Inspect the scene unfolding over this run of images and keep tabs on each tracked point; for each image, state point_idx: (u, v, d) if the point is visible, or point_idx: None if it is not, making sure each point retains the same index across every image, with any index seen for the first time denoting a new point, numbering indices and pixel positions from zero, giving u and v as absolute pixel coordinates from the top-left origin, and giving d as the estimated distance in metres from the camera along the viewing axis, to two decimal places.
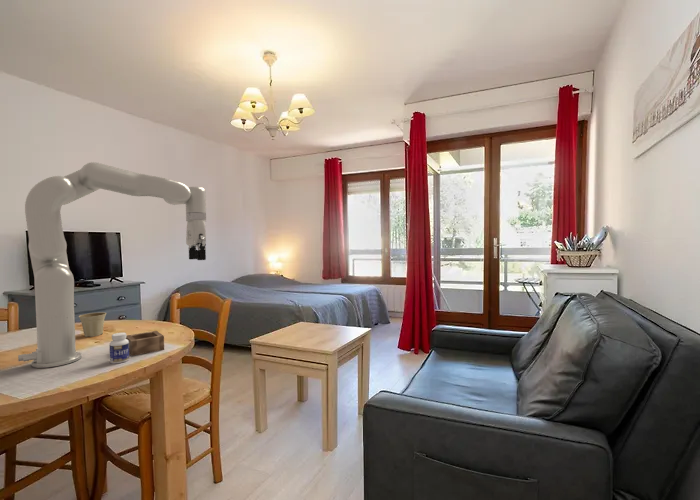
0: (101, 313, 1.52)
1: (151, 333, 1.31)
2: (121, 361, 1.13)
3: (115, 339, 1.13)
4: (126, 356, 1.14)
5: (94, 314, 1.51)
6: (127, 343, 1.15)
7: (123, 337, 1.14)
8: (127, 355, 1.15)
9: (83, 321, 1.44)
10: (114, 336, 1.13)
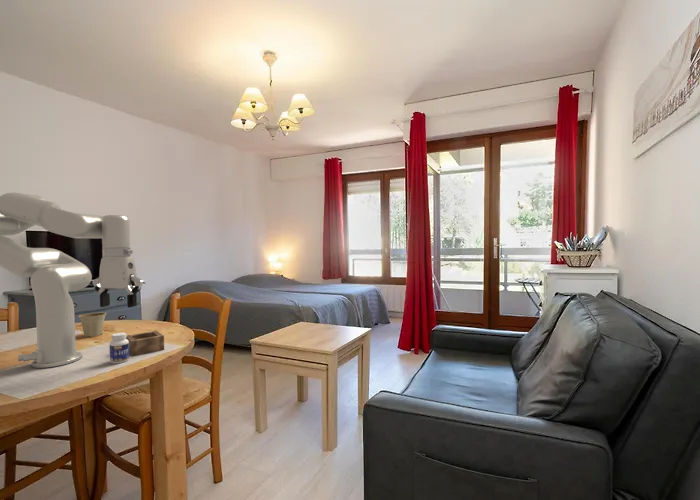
0: (101, 313, 1.52)
1: (151, 333, 1.31)
2: (121, 361, 1.13)
3: (115, 339, 1.13)
4: (126, 356, 1.14)
5: (94, 314, 1.51)
6: (127, 343, 1.15)
7: (123, 337, 1.14)
8: (127, 355, 1.15)
9: (83, 321, 1.44)
10: (114, 336, 1.13)
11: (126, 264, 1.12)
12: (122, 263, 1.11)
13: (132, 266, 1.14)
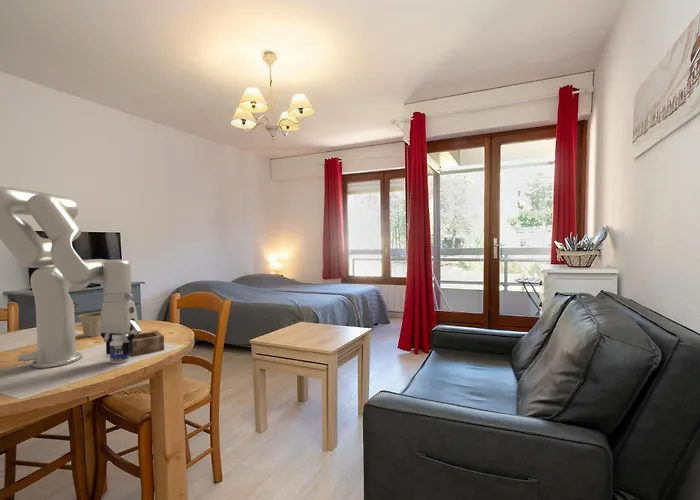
0: None
1: (151, 333, 1.31)
2: (121, 361, 1.13)
3: (115, 339, 1.13)
4: (126, 356, 1.14)
5: (94, 314, 1.51)
6: None
7: None
8: (127, 355, 1.15)
9: (83, 321, 1.44)
10: (114, 336, 1.13)
11: (127, 309, 1.12)
12: (123, 308, 1.12)
13: (133, 310, 1.15)
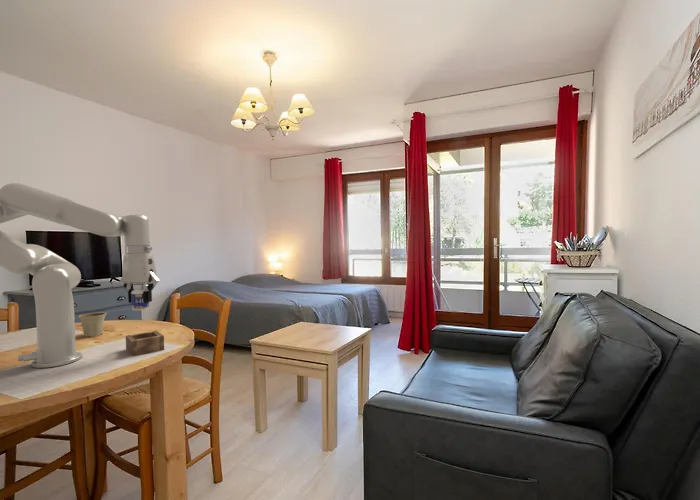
0: (101, 313, 1.52)
1: (151, 333, 1.31)
2: (142, 308, 1.22)
3: (136, 288, 1.22)
4: (146, 304, 1.23)
5: (94, 314, 1.51)
6: None
7: (143, 287, 1.23)
8: (147, 304, 1.24)
9: (83, 321, 1.44)
10: (135, 285, 1.22)
11: (146, 260, 1.21)
12: (142, 259, 1.21)
13: (152, 262, 1.24)
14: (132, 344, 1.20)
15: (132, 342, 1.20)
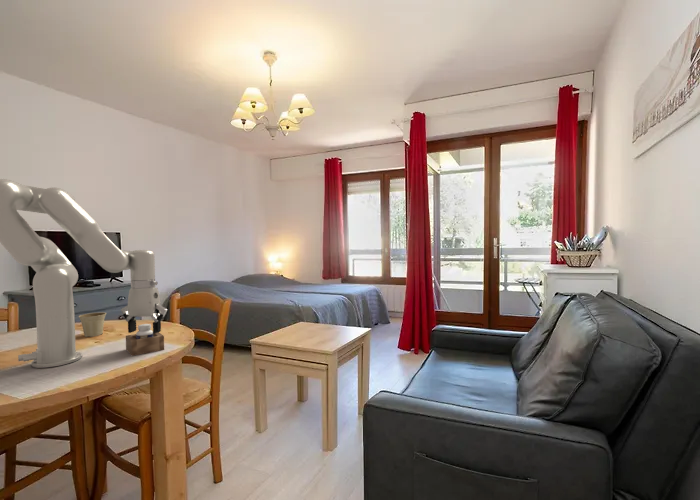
0: (101, 313, 1.52)
1: None
2: None
3: (141, 329, 1.25)
4: None
5: (94, 314, 1.51)
6: (152, 333, 1.27)
7: (148, 328, 1.26)
8: None
9: (83, 321, 1.44)
10: (140, 327, 1.25)
11: (152, 294, 1.24)
12: (148, 294, 1.24)
13: (157, 296, 1.27)
14: (132, 344, 1.20)
15: (132, 342, 1.20)
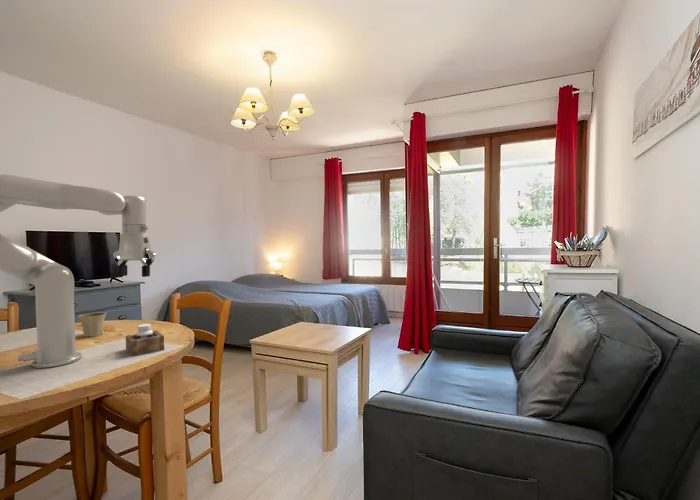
0: (101, 313, 1.52)
1: None
2: None
3: (141, 329, 1.25)
4: None
5: (94, 314, 1.51)
6: (151, 333, 1.27)
7: (148, 328, 1.26)
8: None
9: (83, 321, 1.44)
10: (140, 327, 1.25)
11: (142, 239, 1.28)
12: (138, 237, 1.27)
13: (147, 241, 1.30)
14: (132, 344, 1.20)
15: (132, 342, 1.20)
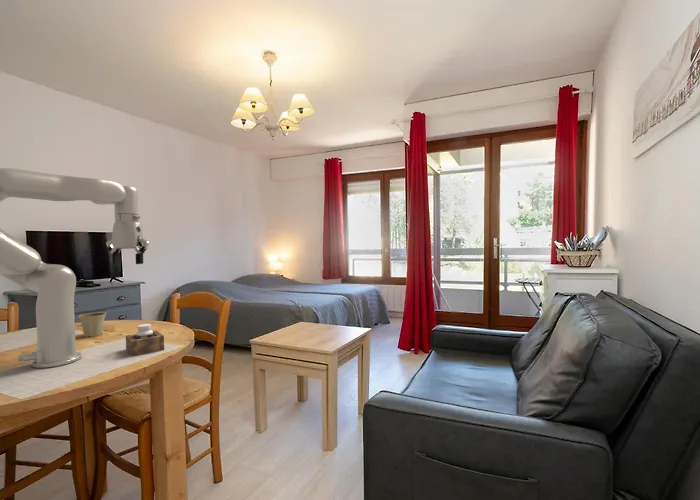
0: (101, 313, 1.52)
1: None
2: None
3: (141, 329, 1.25)
4: None
5: (94, 314, 1.51)
6: (152, 333, 1.27)
7: (148, 328, 1.26)
8: None
9: (83, 321, 1.44)
10: (140, 327, 1.25)
11: (135, 227, 1.33)
12: (131, 226, 1.32)
13: (139, 230, 1.35)
14: (132, 344, 1.20)
15: (132, 342, 1.20)
